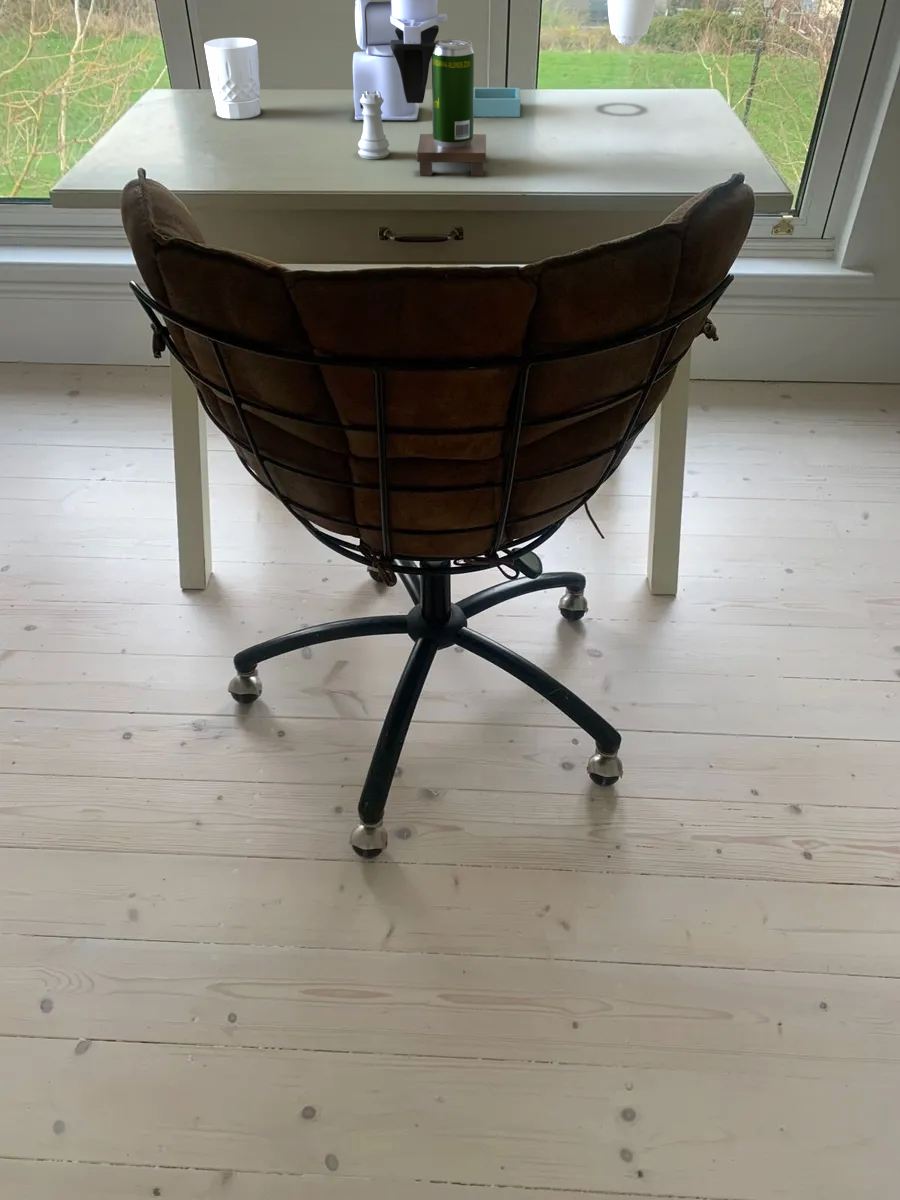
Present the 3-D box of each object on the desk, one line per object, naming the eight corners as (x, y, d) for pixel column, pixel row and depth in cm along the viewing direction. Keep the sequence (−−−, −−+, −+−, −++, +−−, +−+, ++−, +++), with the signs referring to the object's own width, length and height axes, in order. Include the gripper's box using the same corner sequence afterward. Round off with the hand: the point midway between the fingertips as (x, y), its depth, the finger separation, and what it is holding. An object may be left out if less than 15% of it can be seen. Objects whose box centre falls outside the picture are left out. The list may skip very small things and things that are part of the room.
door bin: (470, 116, 163) (471, 99, 161) (471, 104, 169) (471, 87, 167) (519, 116, 163) (520, 99, 161) (518, 104, 169) (519, 87, 167)
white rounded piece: (654, 110, 165) (671, -43, 152) (619, 117, 162) (633, -39, 149) (624, 101, 170) (637, -49, 157) (589, 107, 167) (600, -45, 154)
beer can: (481, 143, 140) (482, 43, 133) (450, 150, 137) (449, 49, 130) (455, 135, 143) (455, 36, 136) (424, 142, 141) (423, 42, 133)
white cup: (274, 111, 166) (267, 40, 159) (244, 122, 160) (236, 50, 154) (233, 105, 168) (225, 35, 162) (203, 116, 163) (193, 45, 157)
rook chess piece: (394, 158, 145) (392, 95, 140) (363, 161, 144) (359, 98, 139) (384, 149, 149) (382, 88, 144) (354, 152, 147) (350, 90, 143)
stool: (417, 176, 139) (416, 152, 137) (420, 156, 146) (420, 133, 144) (485, 176, 139) (485, 152, 137) (485, 157, 146) (486, 134, 144)
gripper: (445, -16, 123) (445, 109, 131) (448, -34, 134) (448, 82, 142) (384, -16, 123) (389, 109, 131) (393, -35, 134) (396, 82, 143)
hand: (416, 95), depth 137 cm, fingers open, 7 cm apart
